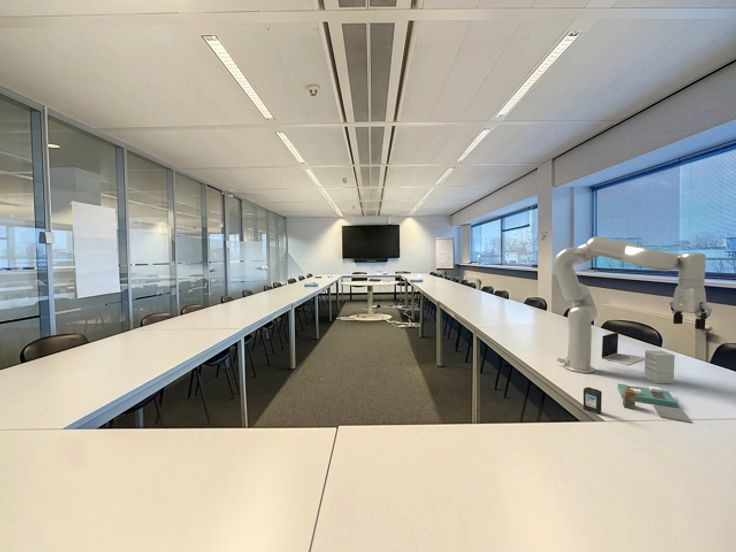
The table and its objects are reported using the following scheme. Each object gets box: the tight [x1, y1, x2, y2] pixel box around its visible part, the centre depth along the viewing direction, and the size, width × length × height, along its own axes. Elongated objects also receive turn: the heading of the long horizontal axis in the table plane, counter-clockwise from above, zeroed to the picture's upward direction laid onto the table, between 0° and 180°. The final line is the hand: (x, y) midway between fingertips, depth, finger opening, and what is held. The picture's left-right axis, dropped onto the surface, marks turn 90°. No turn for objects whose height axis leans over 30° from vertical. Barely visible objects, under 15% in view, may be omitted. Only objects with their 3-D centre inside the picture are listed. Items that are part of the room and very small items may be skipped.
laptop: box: [601, 331, 644, 366], centre depth 178 cm, size 18×12×13 cm
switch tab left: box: [630, 388, 641, 395], centre depth 129 cm, size 3×2×1 cm
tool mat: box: [652, 404, 693, 424], centre depth 116 cm, size 8×10×1 cm
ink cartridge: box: [582, 386, 603, 415], centre depth 118 cm, size 5×2×8 cm, turn 32°
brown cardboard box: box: [622, 388, 636, 410], centre depth 122 cm, size 3×4×6 cm
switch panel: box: [617, 383, 678, 409], centre depth 130 cm, size 16×12×2 cm
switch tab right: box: [649, 385, 662, 393], centre depth 130 cm, size 3×2×1 cm
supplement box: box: [643, 350, 676, 384], centre depth 147 cm, size 7×7×13 cm
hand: (688, 326), depth 133 cm, fingers open, 9 cm apart
